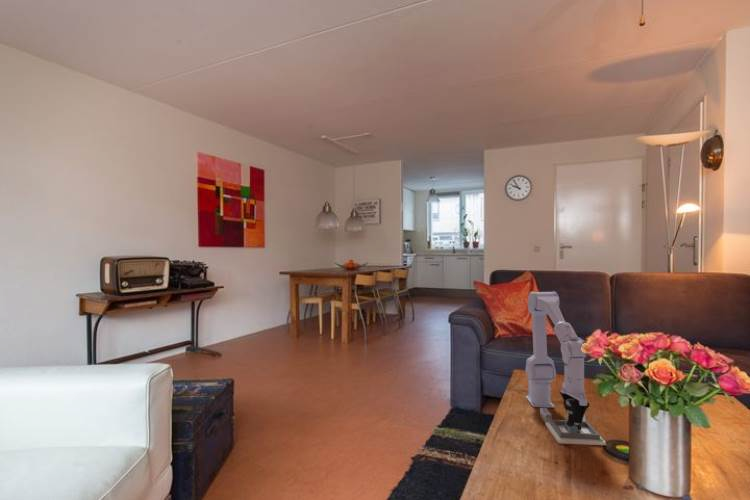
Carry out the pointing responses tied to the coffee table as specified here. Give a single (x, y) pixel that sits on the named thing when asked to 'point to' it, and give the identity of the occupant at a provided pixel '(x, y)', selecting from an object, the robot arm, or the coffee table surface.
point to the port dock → (568, 437)
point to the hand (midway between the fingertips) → (574, 418)
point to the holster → (548, 415)
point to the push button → (571, 419)
